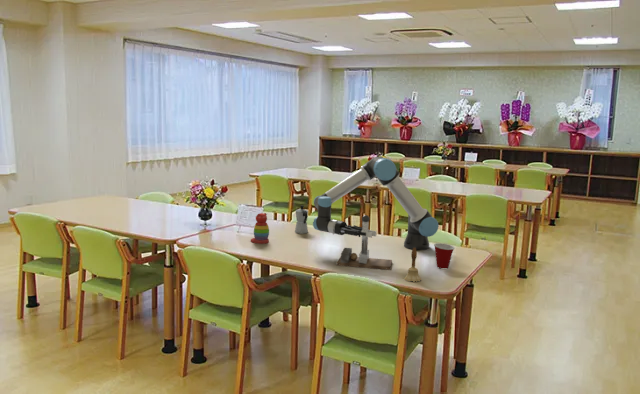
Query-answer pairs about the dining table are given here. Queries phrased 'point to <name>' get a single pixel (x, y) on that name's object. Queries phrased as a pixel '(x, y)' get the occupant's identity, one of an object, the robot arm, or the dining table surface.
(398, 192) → the robot arm
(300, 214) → the coffee maker
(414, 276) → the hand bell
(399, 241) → the dining table surface
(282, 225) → the dining table surface
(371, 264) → the press base
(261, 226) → the stacking bear
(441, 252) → the plastic cup
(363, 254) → the grey upright post
